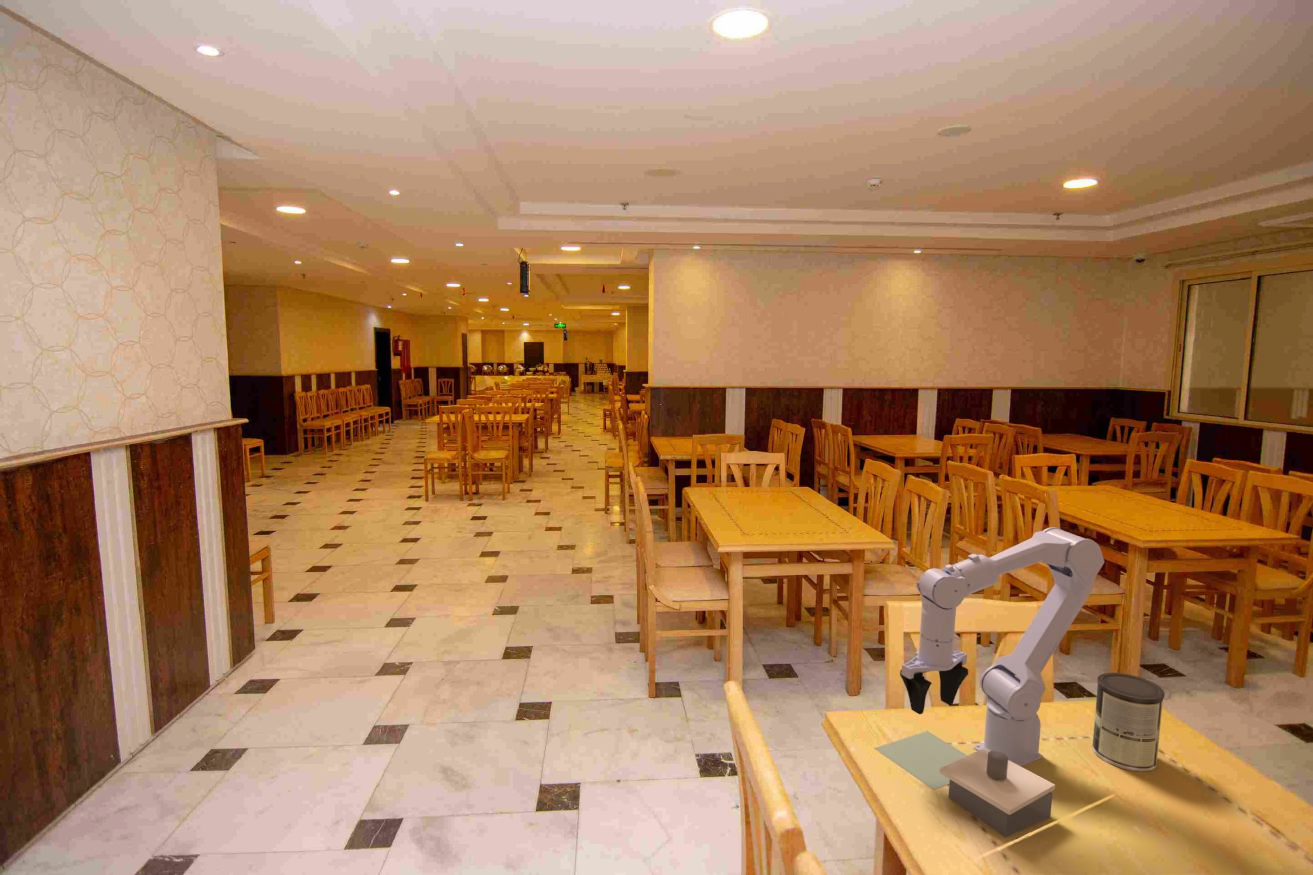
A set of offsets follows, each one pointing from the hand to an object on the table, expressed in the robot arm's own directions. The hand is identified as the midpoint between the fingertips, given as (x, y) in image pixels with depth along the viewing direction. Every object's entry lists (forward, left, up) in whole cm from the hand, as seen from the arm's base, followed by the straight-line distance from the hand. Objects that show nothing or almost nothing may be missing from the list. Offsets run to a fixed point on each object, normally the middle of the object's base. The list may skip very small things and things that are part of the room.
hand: (931, 707), depth 127 cm
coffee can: (-34, +15, -11) cm, 39 cm away
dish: (+1, +15, -10) cm, 18 cm away
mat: (0, 0, -10) cm, 10 cm away
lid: (+1, +14, -6) cm, 16 cm away
